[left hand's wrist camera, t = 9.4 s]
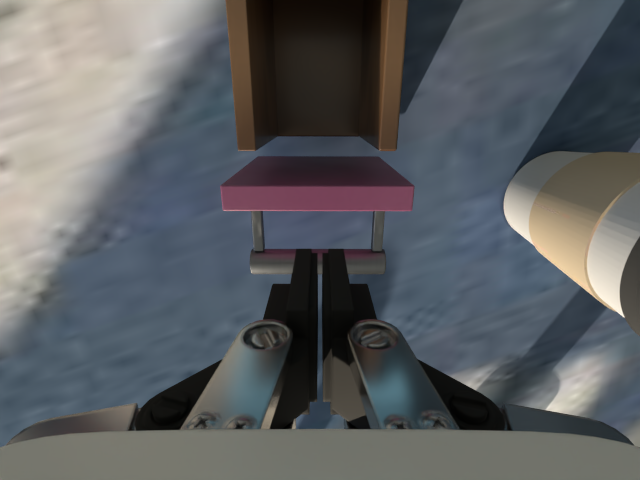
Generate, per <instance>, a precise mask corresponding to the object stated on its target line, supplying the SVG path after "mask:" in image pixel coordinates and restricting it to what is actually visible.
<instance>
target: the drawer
mask: <svg viewBox="0 0 640 480" xmlns="http://www.w3.org/2000/svg"><path fill="white" fill-rule="evenodd" d="M408 1H409V0H226V11H227V23H228V35H229V47H230V59H231V71H232V83H233V95H234V108H235V120H236V132H237V144H238V150H239V151H256V150H257V149H259V148H260V147H262V146H263V145H265V144H266V143H268V142H270V141H271V140H273V139H274V138H276V137H277V136H360V137H361V138H362V139H364V140H365V141H367V142H368V143H370V144H371V145H372V146H374V147H375V148H377V149H378V150H380V151H395V150H396V149H397V139H398V126H399V114H400V101H401V89H402V76H403V64H404V51H405V39H406V26H407V14H408ZM220 188H221V198H222V207H223V210H224V211H251V218H252V231H253V245H254V249H252V251H251V254H250V270H251V273H252V274H292V272H293V266H294V260H295V254H296V249H264V248H265V242H264V225H263V211H373V223H372V240H371V249H344V254H345V260H346V266H347V272H348V274H384V273H385V269H386V256H385V251H384V249H382V243H383V229H384V215H385V211H412V206H413V196H414V185H413V184H411V183H410V182H409V181H408V180H406V179H405V178H404V177H403V176H402V175H400V174H399V173H398V172H397V171H395V170H394V169H393V168H392V167H391V166H389V165H388V164H387V163H386V162H384V161H383V160H382V159H381V158H380V157H311V156H258V157H257V158H255V159H254V160H253V161H252V162H250V163H249V164H248V165H246V166H245V167H244V168H243V169H241V170H240V171H239V172H237V173H236V174H235V175H234V176H232V177H231V178H230V179H228V180H227V181H226V182H225V183H223V184H222V185H221V186H220ZM312 253H318V274H322V253H328V249H312Z"/></svg>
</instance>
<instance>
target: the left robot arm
mask: <svg viewBox="0 0 640 480" xmlns="http://www.w3.org/2000/svg"><path fill="white" fill-rule="evenodd" d="M317 350H318V253H312V249H296V254H295V260H294V266H293V272H292V278H291V284H273V285H272V288H271V292H270V296H269V300H268V303H267V307H266V311H265V314H264V318H263V320H259V321H255V322H253V323H250V324H248V325H247V326H245V327H244V328H243V329H242V330H241V331H240V332H239V333H238V335H237V337H236V338H235V340H234V342H233V343H232V345H231V346H230V348H229V350H228V351H227V353H226V355H225V356H224V358H223V359H222V360H220V361H218V362H216V363H215V364H213V365H211V366H209V367H207V368H205V369H203V370H202V371H200V372H198V373H196V374H194V375H192V376H190V377H189V378H187V379H185V380H183V381H181V382H179V383H178V384H176V385H174V386H172V387H170V388H168V389H166V390H165V391H163V392H161V393H159V394H157V395H156V396H154V397H153V398H151V399H150V400H149V401H148V402H147V403H146V404H145V405H144V406H143V407H142V408H138V405H137V403H134V404H128V405H122V406H117V407H111V408H105V409H100V410H94V411H89V412H83V413H77V414H72V415H66V416H60V417H55V418H50V419H47V420H43V421H40V422H37V423H35V424H33V425H31V426H29V427H27V428H25V429H24V430H22V431H21V432H20V433H18V434H17V435H16V436H14V437H13V438H12V439H11V440H10V441H9V442H8V443H7V444H6V446H3V447H0V480H640V447H637V446H634V444H633V443H632V442H631V441H630V440H629V439H628V438H627V437H626V436H624V435H623V434H622V433H620V432H619V431H618V430H616V429H615V428H613V427H611V426H609V425H607V424H605V423H603V422H600V421H597V420H593V419H590V418H585V417H580V416H574V415H568V414H563V413H557V412H551V411H546V410H540V409H535V408H529V407H523V406H518V405H512V404H506V403H503V405H502V408H498V407H497V406H496V405H495V404H494V403H493V402H492V401H491V400H490V399H489V398H487V397H486V396H484V395H483V394H481V393H479V392H477V391H475V390H474V389H472V388H470V387H468V386H466V385H464V384H462V383H461V382H459V381H457V380H455V379H453V378H451V377H450V376H448V375H446V374H444V373H442V372H440V371H438V370H437V369H435V368H433V367H431V366H429V365H427V364H425V363H424V362H422V361H420V360H418V359H417V358H416V356H415V355H414V353H413V351H412V350H411V348H410V346H409V345H408V343H407V342H406V340H405V338H404V337H403V335H402V333H401V332H400V331H399V330H398V329H397V328H396V327H395V326H393V325H392V324H390V323H387V322H385V321H381V320H377V318H376V314H375V311H374V307H373V303H372V300H371V296H370V292H369V288H368V285H367V284H349V278H348V272H347V266H346V260H345V254H344V249H328V253H322V351H323V402H330V409H331V414H339V415H341V416H342V417H343V418H344V429H296V418H297V417H298V416H299V415H301V414H309V409H310V402H317Z"/></svg>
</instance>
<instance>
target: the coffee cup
mask: <svg viewBox="0 0 640 480" xmlns="http://www.w3.org/2000/svg"><path fill="white" fill-rule="evenodd" d="M504 213H505V217H506V219H507V221H508V223H509V224H510V226H511V227H512V228H513V229H514V230H516V231H517V232H518V233H519V234H521V235H522V236H523V237H524V238H526V239H527V240H528V241H529V242H531V243H532V244H533V245H534V246H535V247H536V249H537V250H538V251H539V252H540V253H541V254H542V255H543V256H544V257H546V258H547V259H548V260H549V261H551V262H552V263H553V264H554V265H556V266H557V267H558V268H559V269H560V270H562V271H563V272H564V273H565V274H567V275H568V276H569V277H570V278H571V279H573V280H574V281H575V282H576V283H578V284H579V285H580V286H581V287H583V288H584V289H585V290H586V291H587V292H589V293H590V294H591V295H592V296H594V297H595V298H596V299H597V300H598V301H600V302H601V303H602V304H603V305H605V306H606V307H608V308H610V309H612V310H614V311H616V312H618V313H619V314H621V315H622V316H623V317H624V318H625V319H626V321H627V323H628V324H629V326H630V327H631V328H632V329H633V330H634V332H635V333H637V334H638V335H639V336H640V153H626V152H598V153H584V152H567V151H556V152H550V153H546V154H543V155H541V156H538V157H536V158H534V159H533V160H531V161H530V162H528V163H527V164H526V165H524V166H523V167H522V168H521V169H520V170H519V171H518V172H517V173H516V175H515V176H514V177H513V179H512V180H511V182H510V184H509V186H508V188H507V190H506V193H505V197H504Z"/></svg>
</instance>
